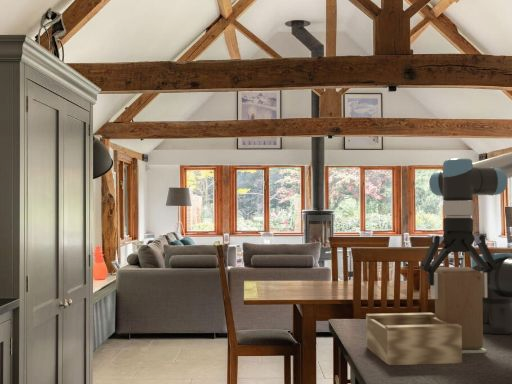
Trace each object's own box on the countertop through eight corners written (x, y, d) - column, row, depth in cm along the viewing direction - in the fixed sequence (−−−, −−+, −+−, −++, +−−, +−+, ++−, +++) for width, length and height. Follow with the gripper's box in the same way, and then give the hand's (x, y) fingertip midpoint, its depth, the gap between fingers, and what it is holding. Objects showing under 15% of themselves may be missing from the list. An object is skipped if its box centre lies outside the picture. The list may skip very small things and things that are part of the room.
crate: (431, 345, 158) (431, 312, 158) (461, 362, 140) (461, 325, 140) (366, 347, 156) (366, 313, 156) (388, 365, 138) (388, 327, 138)
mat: (468, 343, 160) (468, 341, 160) (486, 352, 150) (486, 350, 150) (433, 344, 159) (433, 342, 159) (449, 353, 149) (449, 351, 149)
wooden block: (484, 349, 149) (483, 271, 149) (444, 350, 150) (443, 272, 150) (471, 339, 159) (470, 266, 159) (434, 339, 160) (433, 266, 160)
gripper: (495, 216, 160) (496, 294, 160) (407, 217, 158) (408, 296, 157) (510, 217, 153) (511, 298, 152) (418, 217, 150) (419, 300, 150)
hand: (459, 297), depth 155 cm, fingers open, 13 cm apart
